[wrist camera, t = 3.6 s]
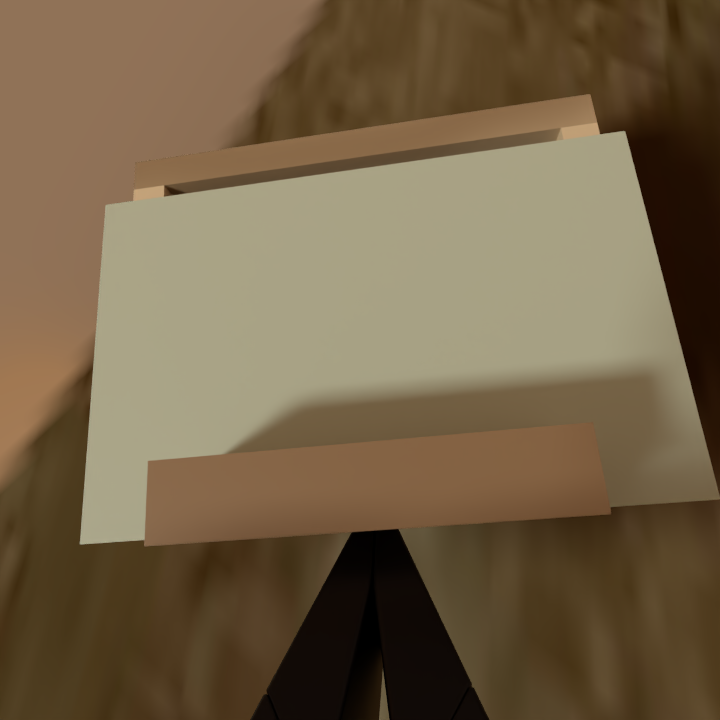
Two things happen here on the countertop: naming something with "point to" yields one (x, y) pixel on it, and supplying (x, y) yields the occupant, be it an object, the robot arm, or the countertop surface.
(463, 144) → the box
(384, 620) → the robot arm
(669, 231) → the countertop surface
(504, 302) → the lid
